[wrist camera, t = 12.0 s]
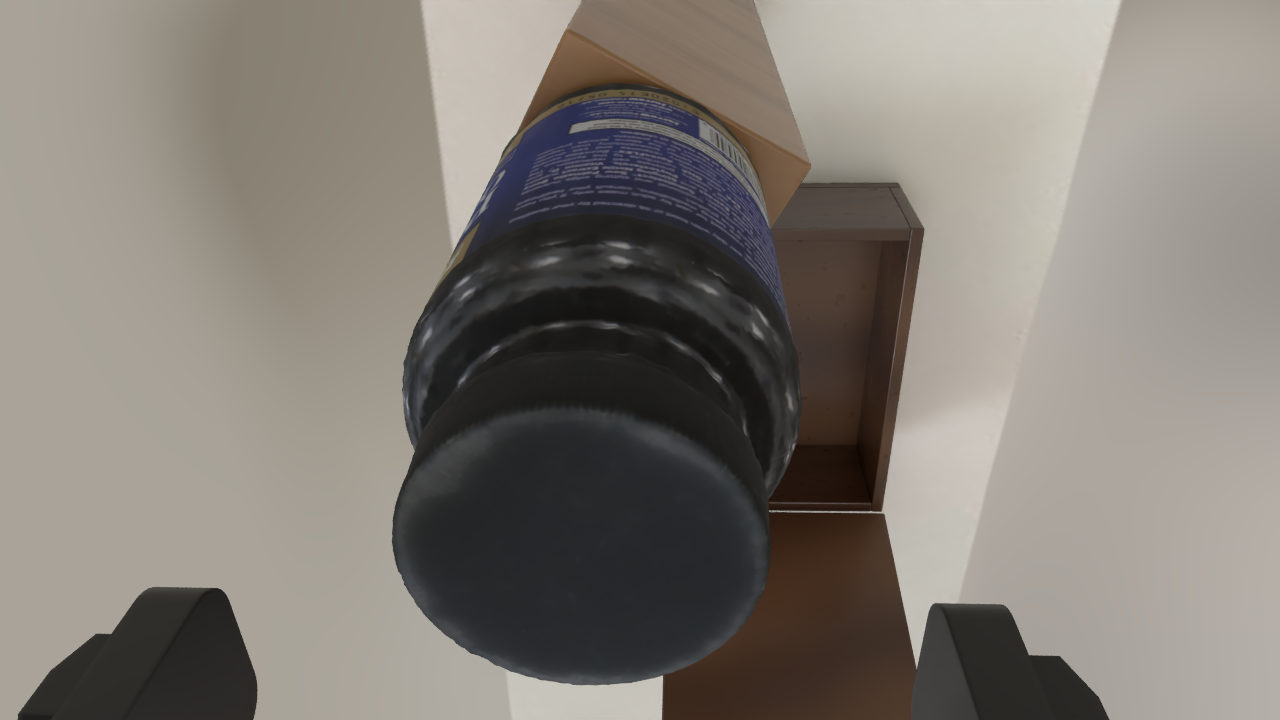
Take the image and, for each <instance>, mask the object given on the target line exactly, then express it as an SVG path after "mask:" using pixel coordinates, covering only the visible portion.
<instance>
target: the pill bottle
mask: <svg viewBox="0 0 1280 720" xmlns="http://www.w3.org/2000/svg"><path fill="white" fill-rule="evenodd" d="M402 391H403V404H404V414H405V421H406V427H407V431H408V434H409V437H410V440H411V444H412V445H413V447H414V450H415V453H414V455H413V458H412V462H411V464H410V467H409V470H408V473H407V475H406V478H405V480H404V482H403V484H402V487H401V490H400V493H399V496H398V499H397V502H396V505H395V511H394V516H393V531H392V535H393V537H392V544H393V552H394V556H395V561H396V565H397V568H398V571H399V572H400V574H401V575H402V579H403V581H404V585H405V586H406V588H407V590H408V591H409V593H410V594H411V596H412V597H413V599H414V600H415V603H416V604H417V606H418V607H419V608H420V609H421V610H422V612H423V613H424V615H425V616H426V617H427V618H428V619H429V620H430V621H431V622H432V623H433V624H434V625H435V626H436V627H437V628H438V629H439V630H441V631H442V632H443V633H444V634H445V635H446V636H448V637H449V638H451V639H453V640H454V641H455V642H456V644H458V645H459V646H461V647H463V648H465V649H466V650H467V651H469V652H470V653H471V654H475V655H479V656H481V657H483V658H485V659H488V660H489V661H490V662H492V663H493V664H494V665H497V666H501V667H503V668H505V669H507V670H509V671H511V672H515V673H519V674H522V675H525V676H528V677H533V678H537V679H540V680H547V681H554V682H559V683H570V684H572V685H602V684H603V685H610V684H619V683H632V682H637V681H642V680H646V679H651V678H655V677H659V676H662V675H665V674H668V673H672V672H674V671H676V670H680V669H683V668H685V667H687V666H689V665H691V664H693V663H696V662H698V661H699V660H701V659H703V658H704V657H706V656H708V655H709V654H711V653H712V652H713V651H715V650H717V649H718V648H720V647H721V646H723V645H724V644H725V643H726V641H727V640H729V639H730V638H732V637H733V635H734V634H735V633H737V632H738V631H739V630H740V628H741V627H742V625H744V624H745V623H746V621H747V620H748V619H749V617H750V616H751V614H752V613H753V611H754V609H755V607H756V604H757V602H758V601H759V599H760V598H761V596H762V593H763V591H764V589H765V586H766V582H767V577H768V572H769V568H770V555H771V538H770V527H769V503H768V499H769V498H770V497H771V496H772V494H773V492H774V491H775V489H776V487H777V486H778V485H779V483H780V480H781V478H782V477H783V476H784V473H785V470H786V468H787V466H788V464H789V462H790V459H791V456H792V454H793V451H794V450H795V446H796V444H797V441H798V437H799V430H800V416H801V413H802V396H801V386H800V370H799V362H798V354H797V350H796V348H795V346H794V342H793V338H792V332H791V327H790V322H789V318H788V313H787V308H786V303H785V298H784V293H783V288H782V283H781V277H780V272H779V267H778V262H777V257H776V252H775V247H774V242H773V237H772V232H771V228H770V222H769V218H768V213H767V209H766V204H765V197H764V193H763V189H762V186H761V183H760V179H759V175H758V172H757V170H756V169H755V167H754V165H753V164H752V161H751V158H750V155H749V153H748V151H747V150H746V149H745V147H744V146H743V145H742V144H741V142H740V141H739V140H738V139H737V138H736V136H735V135H734V134H733V133H732V132H731V131H730V130H729V129H728V128H727V127H726V126H725V125H724V124H723V123H722V122H721V121H720V120H719V119H718V118H717V117H716V116H715V115H714V114H713V113H712V112H711V111H710V110H708V109H707V108H706V107H705V106H703V105H701V104H699V103H697V102H695V101H693V100H691V99H688V98H685V97H683V96H681V95H678V94H676V93H673V92H670V91H667V90H665V89H662V88H656V87H652V86H649V85H643V84H629V83H612V84H604V85H597V86H592V87H588V88H584V89H581V90H578V91H575V92H573V93H570V94H566V95H564V96H562V97H561V98H559V99H557V100H556V101H554V102H553V103H551V104H550V105H549V106H548V107H547V108H545V109H544V110H543V111H542V112H540V113H539V114H538V115H537V116H536V117H535V118H534V119H533V120H532V121H531V122H530V123H529V124H528V125H527V126H526V127H524V128H523V129H522V130H521V131H519V132H518V133H517V134H516V135H515V136H514V137H513V138H512V140H511V141H510V142H509V143H508V145H507V146H506V148H505V149H504V151H503V153H502V156H501V159H500V161H499V164H498V165H497V167H496V169H495V171H494V173H493V175H492V177H491V179H490V181H489V183H488V185H487V187H486V189H485V191H484V193H483V195H482V197H481V199H480V201H479V202H478V204H477V206H476V209H475V211H474V213H473V215H472V216H471V219H470V221H469V222H468V224H467V226H466V228H465V230H464V232H463V234H462V236H461V238H460V240H459V242H458V244H457V246H456V248H455V250H454V252H453V254H452V256H451V258H450V260H449V263H448V264H447V266H446V268H445V270H444V271H443V273H442V275H441V277H440V279H439V281H438V283H437V285H436V287H435V289H434V292H433V293H432V296H431V297H430V299H429V301H428V303H427V305H426V306H425V308H424V311H423V313H422V315H421V316H420V318H419V320H418V322H417V324H416V326H415V328H414V330H413V335H412V337H411V339H410V343H409V346H408V352H407V355H406V358H405V360H404V375H403V389H402Z"/></svg>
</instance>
